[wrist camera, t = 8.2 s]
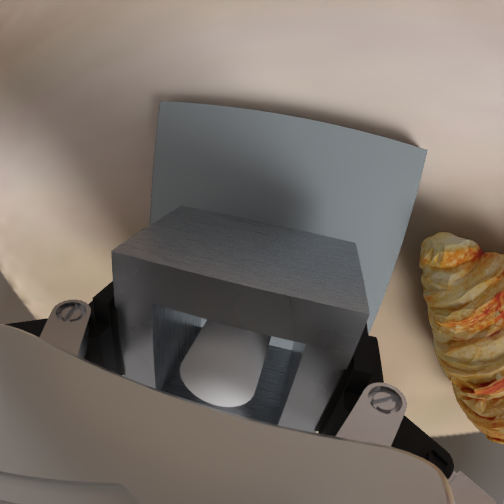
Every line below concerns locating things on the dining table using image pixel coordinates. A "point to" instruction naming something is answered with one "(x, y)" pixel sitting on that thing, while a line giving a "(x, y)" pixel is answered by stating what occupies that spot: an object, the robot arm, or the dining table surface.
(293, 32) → the dining table surface
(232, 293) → the grey hollow block
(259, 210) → the keeper
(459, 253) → the croissant
